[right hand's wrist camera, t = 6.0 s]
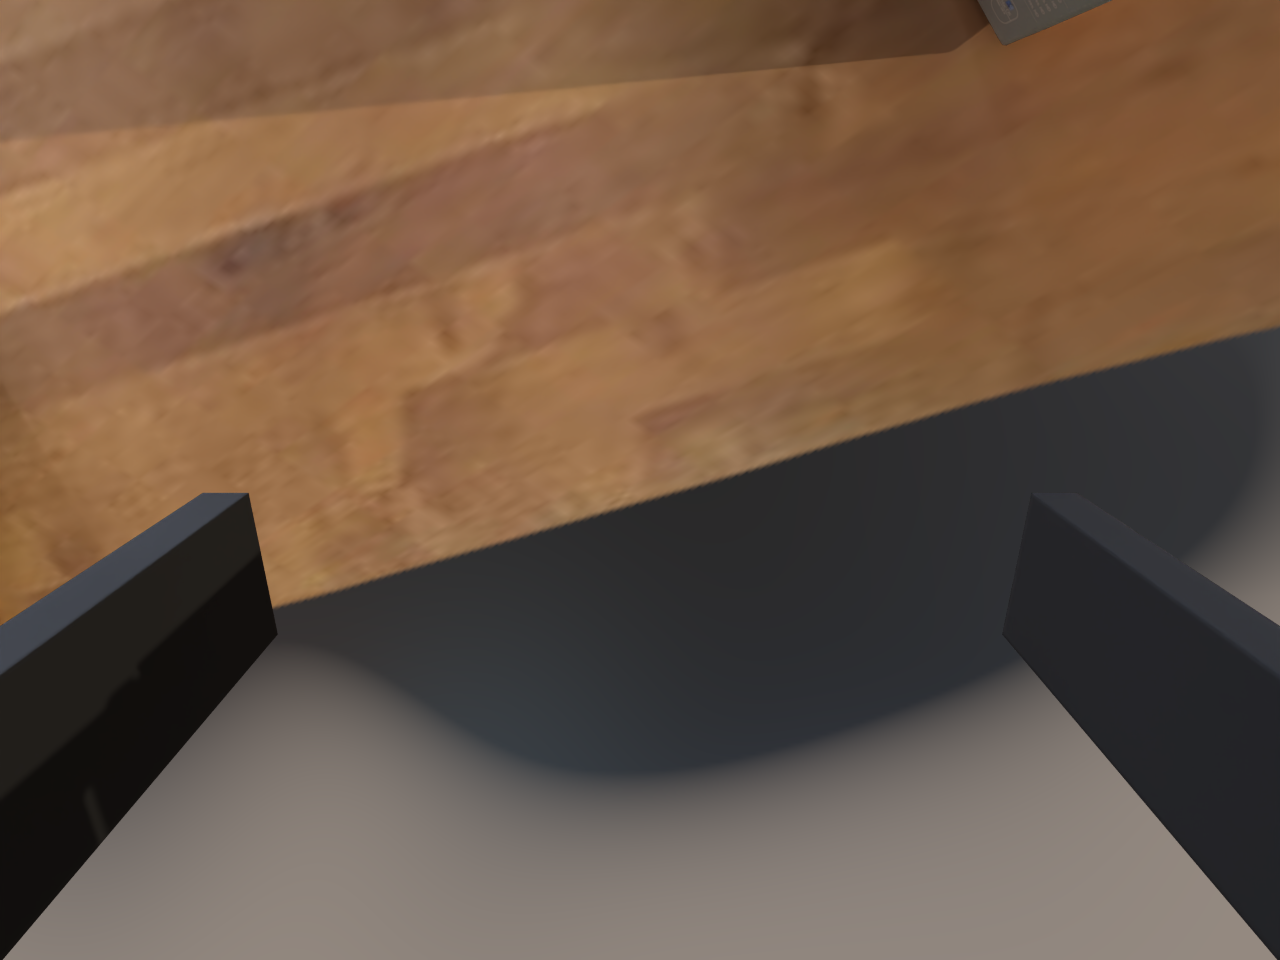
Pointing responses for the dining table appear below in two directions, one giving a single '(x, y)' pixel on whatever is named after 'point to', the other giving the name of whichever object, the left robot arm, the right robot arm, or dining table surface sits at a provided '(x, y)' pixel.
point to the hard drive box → (1031, 15)
